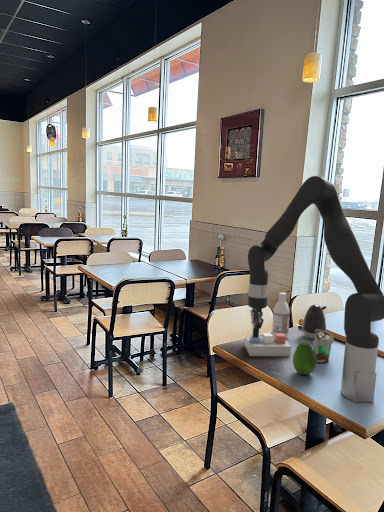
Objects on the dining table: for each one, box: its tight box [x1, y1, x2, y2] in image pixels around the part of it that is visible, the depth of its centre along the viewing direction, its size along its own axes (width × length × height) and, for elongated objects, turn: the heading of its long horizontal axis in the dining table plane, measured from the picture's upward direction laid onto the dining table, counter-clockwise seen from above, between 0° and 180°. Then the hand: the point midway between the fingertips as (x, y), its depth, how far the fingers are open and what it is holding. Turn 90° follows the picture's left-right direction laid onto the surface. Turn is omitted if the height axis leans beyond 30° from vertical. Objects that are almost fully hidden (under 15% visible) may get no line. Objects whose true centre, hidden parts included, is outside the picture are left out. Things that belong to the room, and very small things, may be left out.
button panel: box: [244, 336, 292, 357], centre depth 149 cm, size 10×16×4 cm, turn 93°
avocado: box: [292, 340, 317, 376], centre depth 129 cm, size 8×8×12 cm
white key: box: [261, 332, 273, 344], centre depth 149 cm, size 3×3×4 cm
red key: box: [274, 333, 287, 344], centre depth 149 cm, size 3×3×4 cm
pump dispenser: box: [301, 304, 327, 340], centre depth 164 cm, size 10×10×15 cm
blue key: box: [249, 334, 261, 343], centre depth 148 cm, size 3×3×4 cm
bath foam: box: [271, 292, 291, 340], centre depth 164 cm, size 7×7×20 cm
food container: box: [313, 329, 335, 365], centre depth 142 cm, size 12×6×10 cm, turn 168°
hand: (255, 336), depth 148 cm, fingers closed
